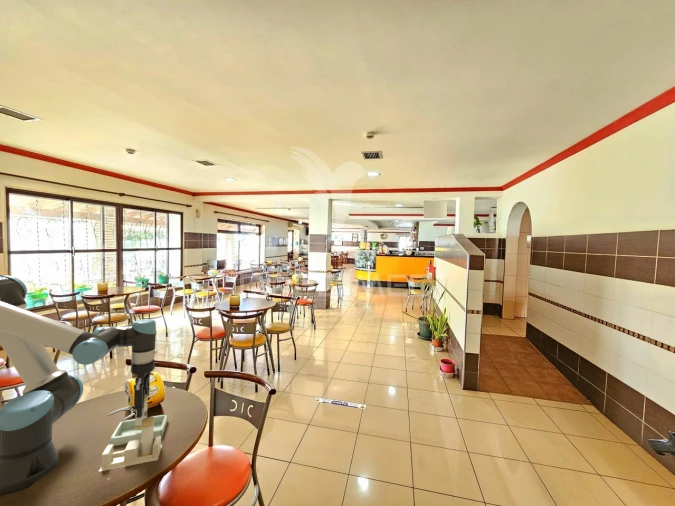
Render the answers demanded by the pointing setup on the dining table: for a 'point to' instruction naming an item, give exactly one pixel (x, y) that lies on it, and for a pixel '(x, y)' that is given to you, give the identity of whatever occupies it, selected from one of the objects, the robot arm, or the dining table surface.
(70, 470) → the dining table surface
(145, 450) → the fuse
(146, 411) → the fuse
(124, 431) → the parts tray
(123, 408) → the pliers
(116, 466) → the fuse holder
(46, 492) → the dining table surface
